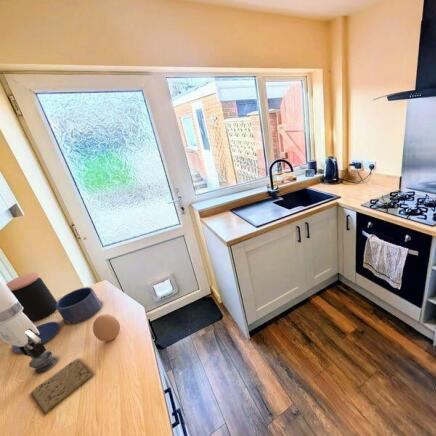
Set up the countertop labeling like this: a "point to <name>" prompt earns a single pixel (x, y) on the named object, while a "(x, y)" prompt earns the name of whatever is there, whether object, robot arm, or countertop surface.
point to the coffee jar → (33, 296)
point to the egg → (106, 327)
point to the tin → (78, 305)
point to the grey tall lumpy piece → (41, 360)
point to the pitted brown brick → (60, 385)
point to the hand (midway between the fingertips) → (35, 352)
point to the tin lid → (43, 333)
